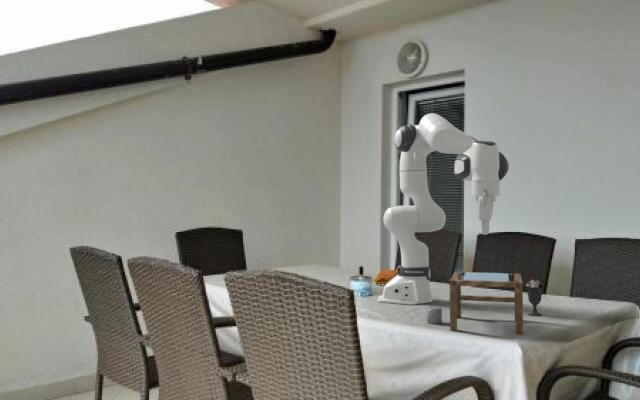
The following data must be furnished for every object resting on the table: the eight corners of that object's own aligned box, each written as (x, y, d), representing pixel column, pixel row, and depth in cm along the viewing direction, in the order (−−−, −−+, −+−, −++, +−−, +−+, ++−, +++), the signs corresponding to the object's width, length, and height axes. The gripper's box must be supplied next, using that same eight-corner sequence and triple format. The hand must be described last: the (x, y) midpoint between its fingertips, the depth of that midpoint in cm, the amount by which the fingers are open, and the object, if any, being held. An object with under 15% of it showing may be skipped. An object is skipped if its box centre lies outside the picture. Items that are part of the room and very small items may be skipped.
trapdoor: (463, 287, 191) (463, 279, 191) (466, 277, 208) (466, 270, 208) (508, 289, 187) (508, 281, 187) (508, 278, 204) (508, 271, 203)
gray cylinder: (426, 324, 199) (426, 309, 199) (428, 320, 204) (427, 306, 204) (441, 324, 198) (441, 309, 198) (442, 321, 203) (442, 307, 203)
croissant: (383, 285, 299) (381, 269, 300) (410, 283, 290) (408, 267, 291) (368, 288, 287) (366, 272, 288) (396, 286, 278) (394, 269, 279)
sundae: (521, 313, 215) (521, 271, 215) (539, 312, 216) (539, 271, 215) (529, 316, 208) (529, 274, 208) (548, 316, 209) (547, 273, 209)
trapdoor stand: (450, 330, 189) (449, 279, 189) (455, 316, 210) (454, 270, 210) (523, 334, 183) (522, 281, 183) (520, 319, 204) (520, 271, 204)
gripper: (495, 190, 181) (495, 235, 181) (495, 190, 200) (496, 231, 201) (473, 190, 183) (474, 235, 183) (476, 190, 202) (476, 230, 203)
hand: (485, 233), depth 192 cm, fingers open, 8 cm apart
